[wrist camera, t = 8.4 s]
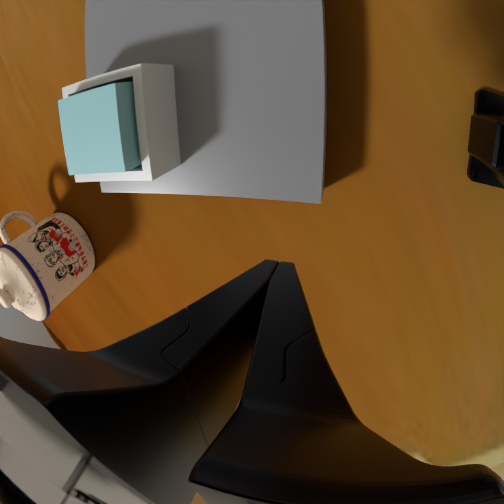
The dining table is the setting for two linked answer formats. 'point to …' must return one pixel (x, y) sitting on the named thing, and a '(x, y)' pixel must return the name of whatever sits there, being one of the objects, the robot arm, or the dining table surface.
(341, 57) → the dining table surface
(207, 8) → the grey rectangular board
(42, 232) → the teacup with lid
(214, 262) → the dining table surface
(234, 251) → the dining table surface
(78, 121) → the teal key
